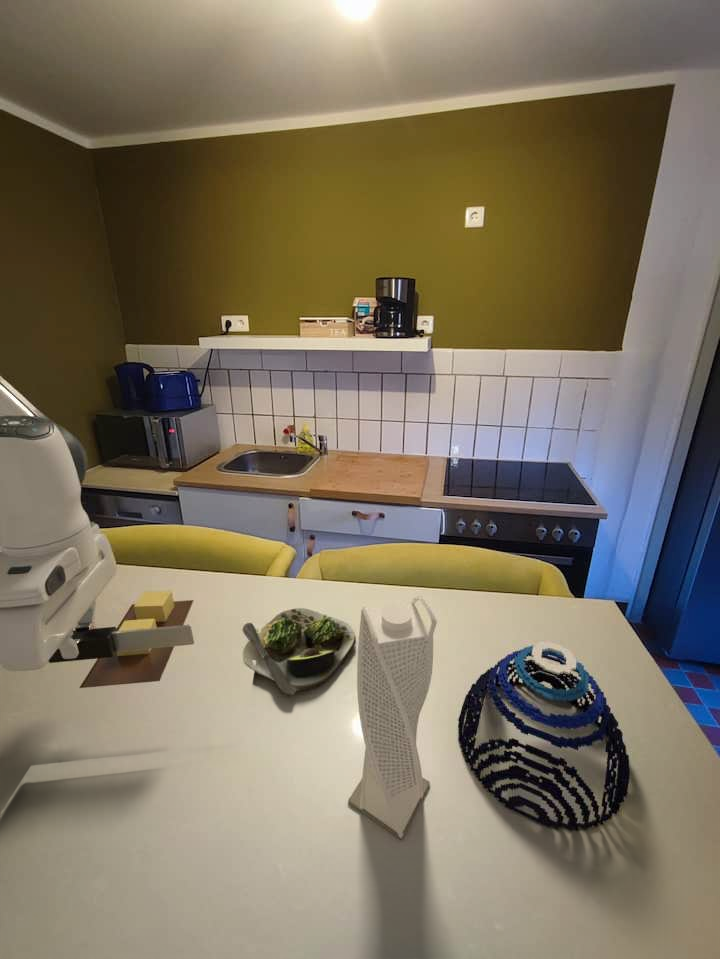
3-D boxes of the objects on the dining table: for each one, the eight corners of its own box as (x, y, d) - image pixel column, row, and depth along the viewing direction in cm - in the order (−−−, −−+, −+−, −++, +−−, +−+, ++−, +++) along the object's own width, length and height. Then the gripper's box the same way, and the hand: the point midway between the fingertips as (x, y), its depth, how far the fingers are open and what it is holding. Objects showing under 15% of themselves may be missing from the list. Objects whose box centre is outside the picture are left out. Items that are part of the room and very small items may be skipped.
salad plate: (210, 662, 70) (206, 639, 68) (281, 603, 84) (279, 583, 82) (305, 713, 60) (303, 688, 59) (367, 637, 75) (367, 615, 73)
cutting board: (49, 698, 63) (46, 690, 63) (108, 612, 82) (107, 606, 81) (161, 688, 65) (159, 680, 64) (194, 606, 84) (193, 599, 83)
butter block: (117, 656, 69) (112, 638, 68) (128, 637, 73) (124, 620, 72) (149, 653, 70) (145, 636, 68) (158, 634, 74) (155, 618, 73)
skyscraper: (440, 791, 50) (457, 590, 41) (409, 859, 44) (419, 640, 34) (379, 754, 55) (380, 564, 45) (342, 811, 48) (334, 605, 39)
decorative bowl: (477, 665, 69) (485, 589, 64) (621, 714, 60) (644, 630, 55) (439, 775, 52) (446, 684, 47) (630, 866, 43) (663, 766, 38)
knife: (48, 663, 55) (42, 644, 54) (59, 650, 58) (53, 632, 57) (191, 649, 57) (187, 631, 56) (196, 637, 59) (192, 619, 58)
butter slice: (137, 622, 77) (133, 606, 76) (148, 607, 81) (144, 591, 80) (165, 621, 77) (162, 605, 76) (174, 606, 81) (171, 590, 80)
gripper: (70, 516, 61) (92, 598, 66) (-40, 605, 42) (3, 712, 46) (116, 514, 61) (135, 595, 66) (29, 600, 42) (65, 706, 47)
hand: (80, 644), depth 56 cm, fingers closed on knife, 2 cm apart
